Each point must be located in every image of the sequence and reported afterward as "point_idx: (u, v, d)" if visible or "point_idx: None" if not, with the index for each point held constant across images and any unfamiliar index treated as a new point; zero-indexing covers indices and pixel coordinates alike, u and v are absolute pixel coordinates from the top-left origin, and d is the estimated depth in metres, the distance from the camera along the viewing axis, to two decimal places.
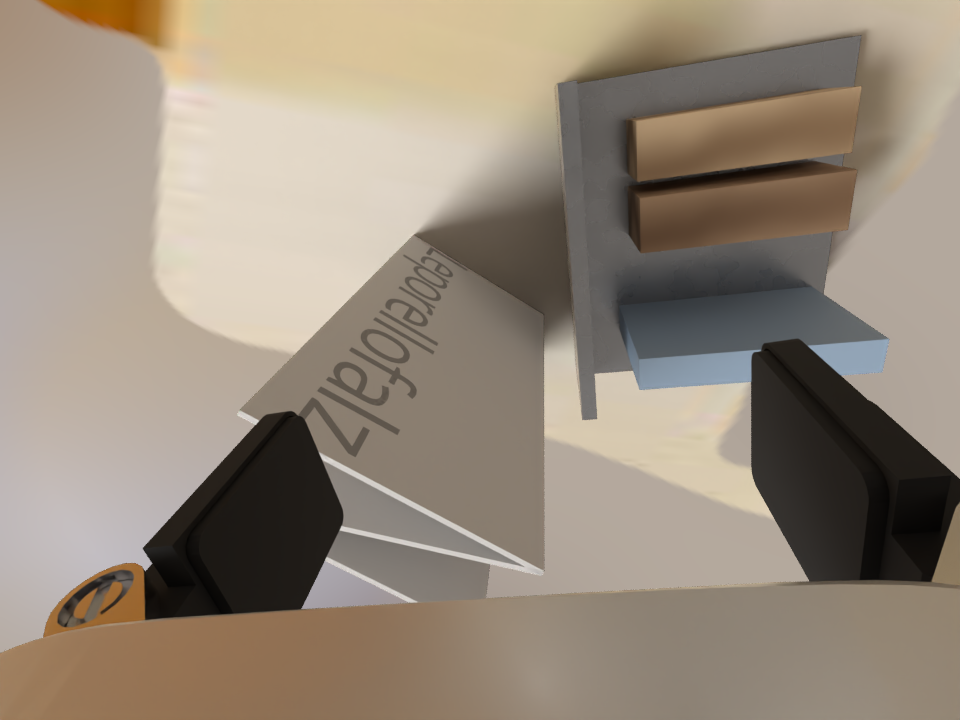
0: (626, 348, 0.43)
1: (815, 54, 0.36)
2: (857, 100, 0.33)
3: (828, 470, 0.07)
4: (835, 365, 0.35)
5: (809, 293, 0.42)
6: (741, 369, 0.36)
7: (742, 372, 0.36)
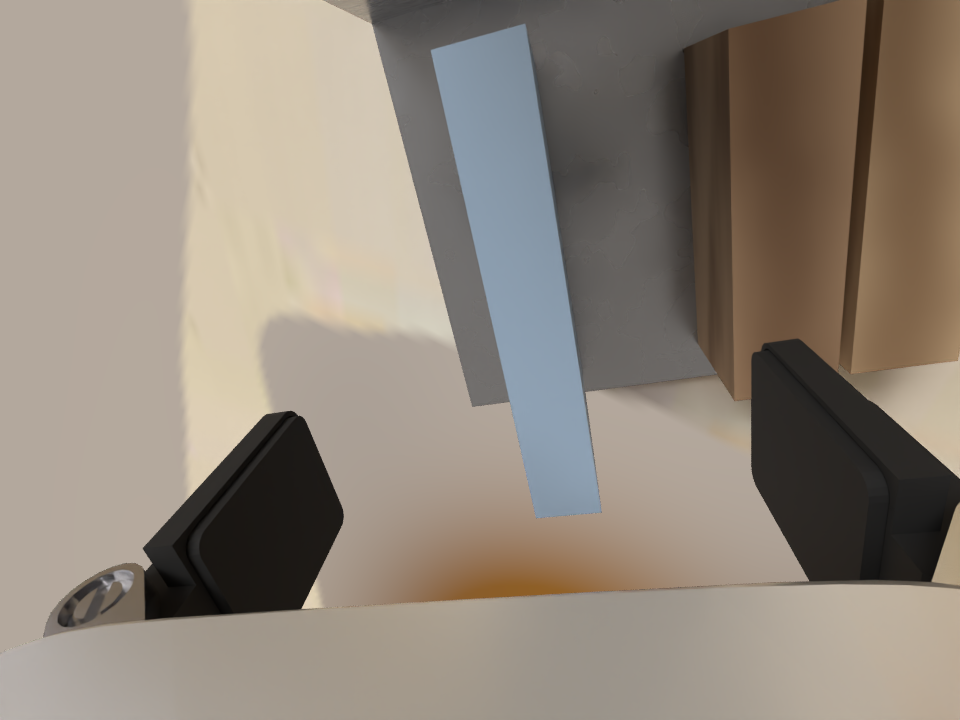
0: None
1: None
2: (936, 360, 0.21)
3: (828, 470, 0.07)
4: (544, 452, 0.18)
5: None
6: (519, 293, 0.16)
7: (512, 297, 0.16)
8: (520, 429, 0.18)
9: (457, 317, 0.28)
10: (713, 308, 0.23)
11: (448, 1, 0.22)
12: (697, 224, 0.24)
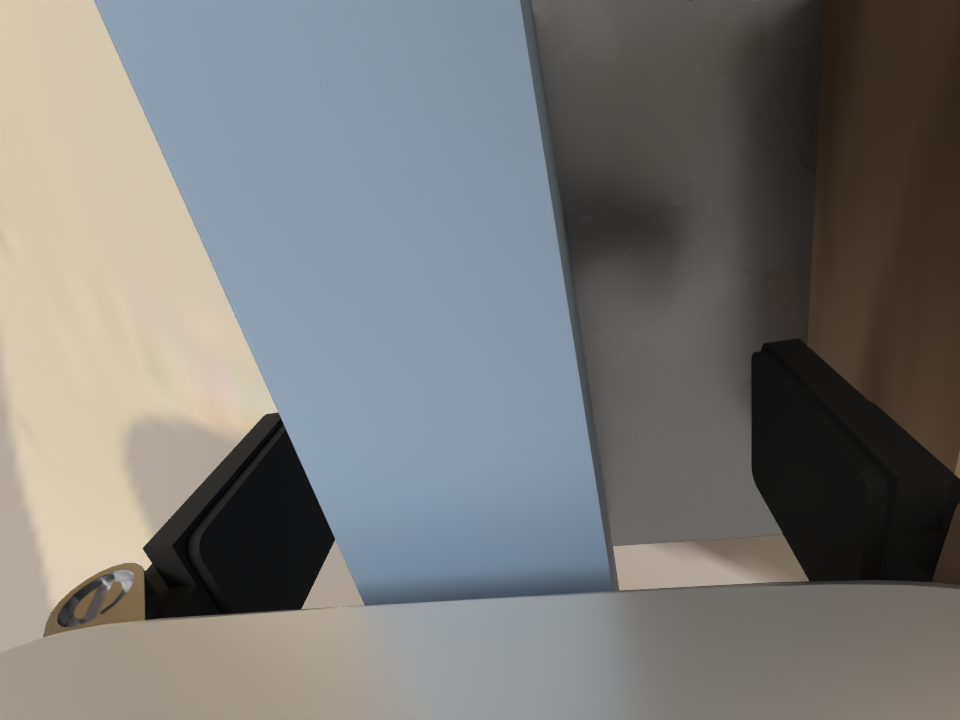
0: None
1: None
2: None
3: (827, 470, 0.07)
4: None
5: None
6: None
7: None
8: None
9: None
10: None
11: None
12: (827, 312, 0.13)
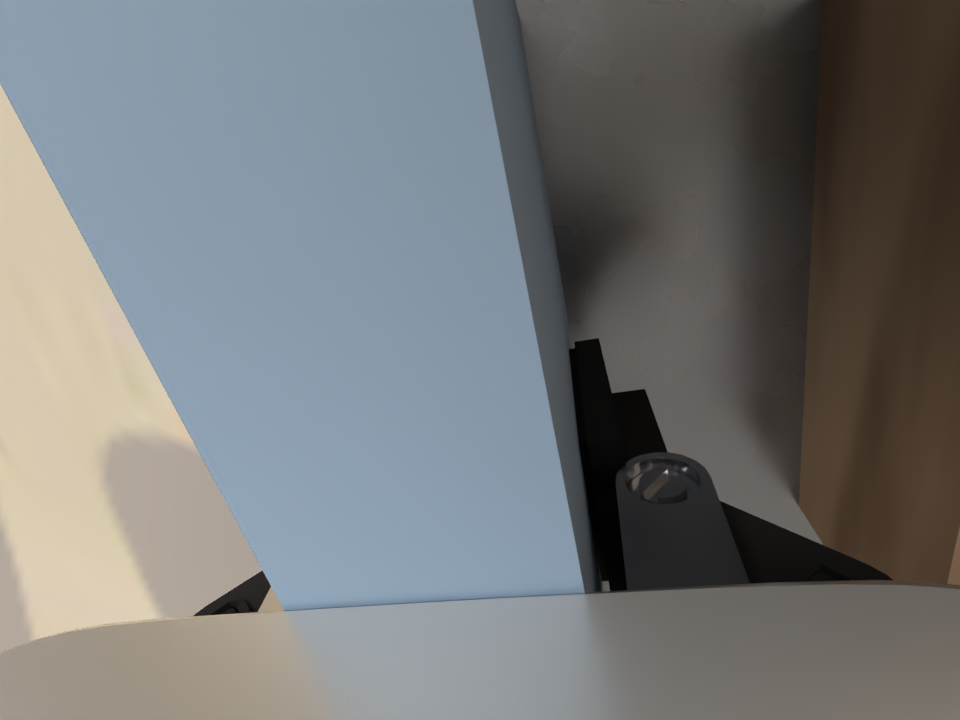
0: None
1: None
2: None
3: None
4: None
5: None
6: None
7: None
8: None
9: None
10: (863, 493, 0.12)
11: None
12: (826, 328, 0.13)
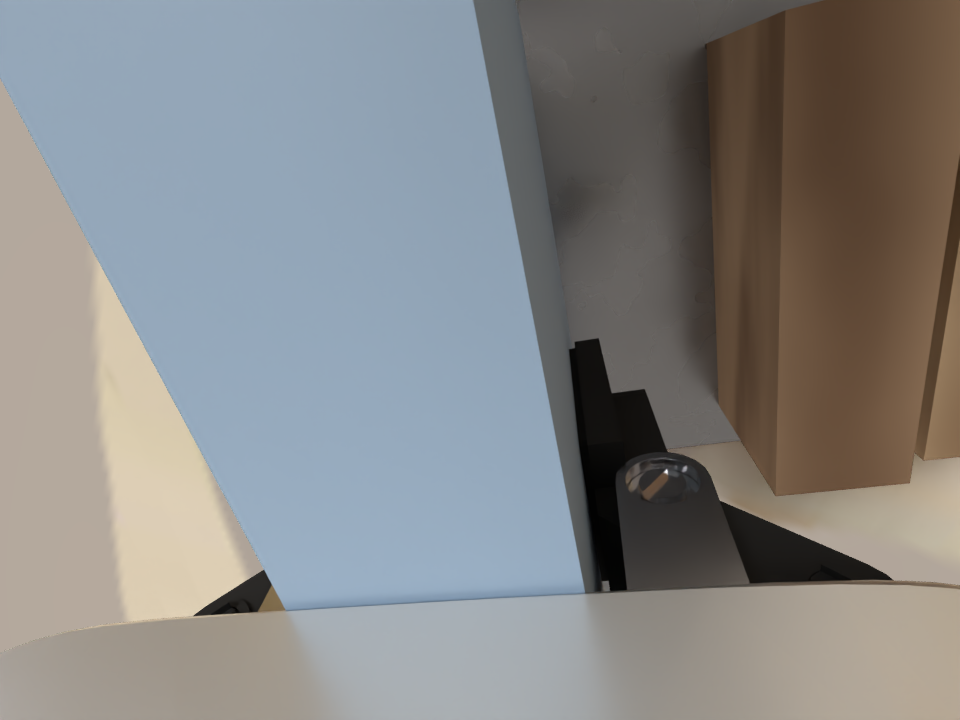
0: None
1: None
2: None
3: None
4: None
5: None
6: None
7: None
8: None
9: None
10: (744, 372, 0.18)
11: None
12: (722, 265, 0.19)
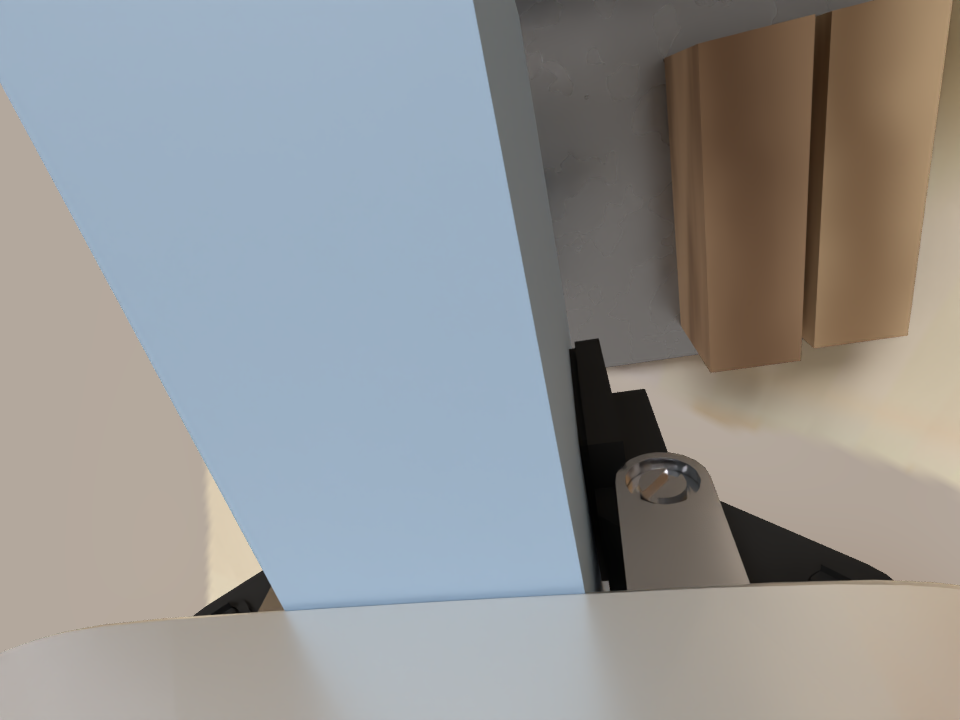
0: None
1: None
2: (888, 335, 0.24)
3: None
4: None
5: None
6: None
7: None
8: None
9: None
10: (692, 290, 0.26)
11: None
12: (678, 215, 0.27)
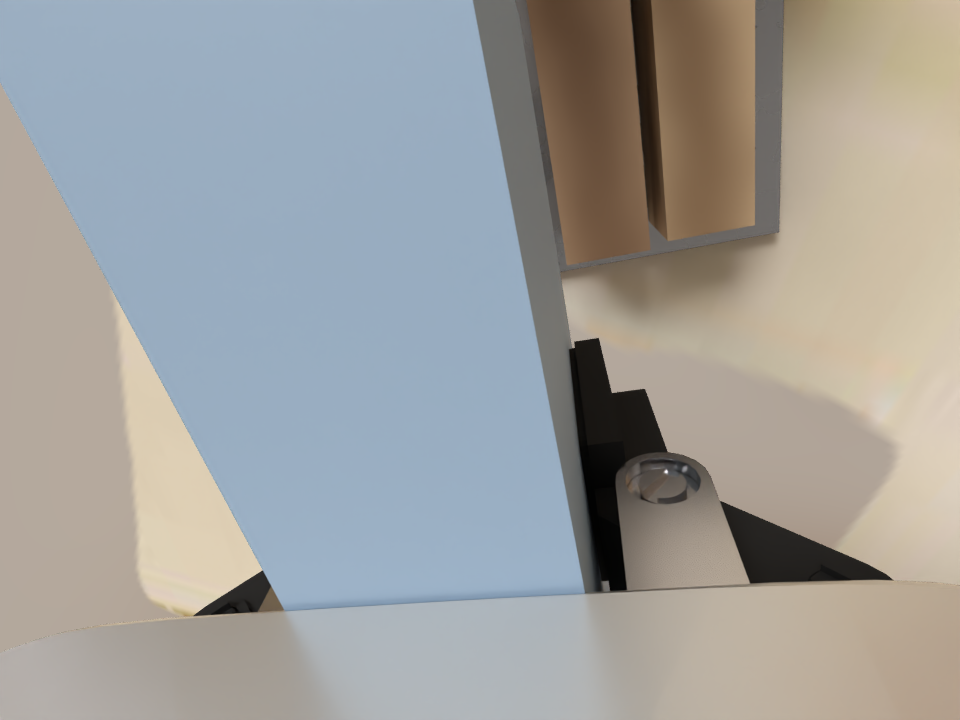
0: None
1: (765, 183, 0.28)
2: (737, 225, 0.25)
3: None
4: None
5: None
6: None
7: None
8: None
9: None
10: None
11: None
12: None
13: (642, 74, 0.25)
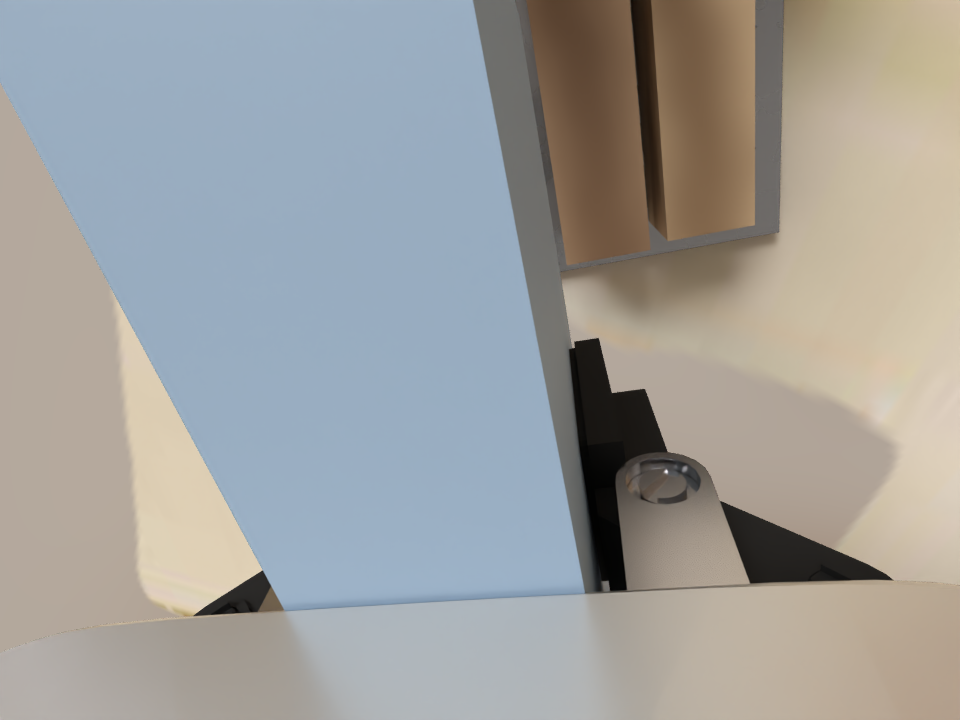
0: None
1: (765, 183, 0.28)
2: (737, 225, 0.25)
3: None
4: None
5: None
6: None
7: None
8: None
9: None
10: None
11: None
12: None
13: (642, 74, 0.25)
